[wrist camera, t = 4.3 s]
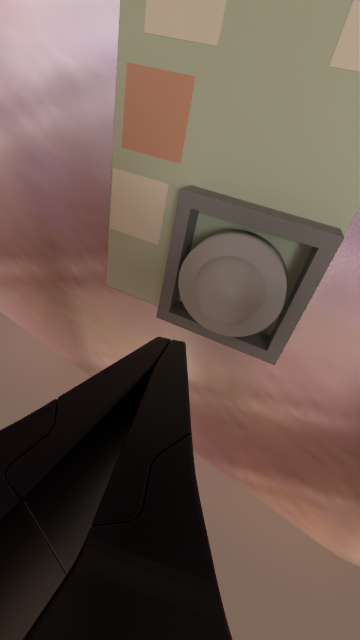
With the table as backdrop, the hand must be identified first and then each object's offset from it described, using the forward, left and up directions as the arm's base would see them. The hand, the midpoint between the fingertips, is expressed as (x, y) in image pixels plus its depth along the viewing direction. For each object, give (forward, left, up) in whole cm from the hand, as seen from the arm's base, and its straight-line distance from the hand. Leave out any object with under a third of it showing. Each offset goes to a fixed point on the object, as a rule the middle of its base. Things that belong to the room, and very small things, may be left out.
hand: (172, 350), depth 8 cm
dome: (0, +2, -11) cm, 11 cm away
